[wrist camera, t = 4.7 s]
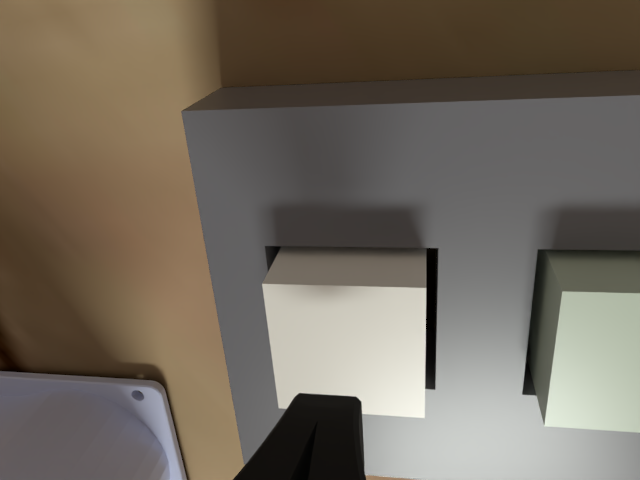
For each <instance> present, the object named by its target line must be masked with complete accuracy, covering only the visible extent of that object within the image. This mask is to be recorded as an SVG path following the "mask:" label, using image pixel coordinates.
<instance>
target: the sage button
mask: <svg viewBox="0 0 640 480" xmlns="http://www.w3.org/2000/svg"><path fill="white" fill-rule="evenodd" d="M526 356H527V360H528V364H529V368H530V372H531V376H532V380H533V384H534V388H535V392H536V396H537V400H538V404H539V407H540V411H541V415H542V419H543V423H544V426H548V427H563V428H578V429H592V430H607V431H622V432H637V433H640V251H635V250H553V249H538V252H537V261H536V270H535V280H534V289H533V298H532V308H531V317H530V326H529V335H528V345H527V354H526Z"/></svg>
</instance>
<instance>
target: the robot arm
mask: <svg viewBox="0 0 640 480" xmlns="http://www.w3.org/2000/svg"><path fill="white" fill-rule="evenodd" d="M137 390H138V391H140V392H142V393H143V394H142V393H140V392H138V391H137ZM364 466H365V462H364V442H363V423H362V403H361V401H360V400H359V399H358V398H357V397H356V396H340V395H324V394H308V393H299V394H297V395H296V396H295V397H294V399H293V400H292V402H291V403H290V405H289V406H288V408H287V409H286V411H285V412H284V414H283V415H282V417H281V418H280V420H279V421H278V422H277V424H276V425H275V427H274V428H273V429H272V431H271V432H270V433H269V435H268V436H267V438H266V439H265V440H264V442H263V443H262V444H261V445H260V447H259V448H258V449H257V451H256V452H255V453H254V454H253V456H252V457H251V458H250V460H249V461H248V462H247V463H246V465H245V466H244V467H243V468H242V470H241V471H240V472H239V473H238V474H237V476H236V477H235V478H234V479H233V480H366V477H365V471H364ZM0 480H187V478H186V474H185V470H184V466H183V462H182V458H181V453H180V449H179V445H178V441H177V437H176V433H175V429H174V425H173V420H172V416H171V412H170V408H169V404H168V400H167V396H166V392H165V389H164V387H163V386H162V385H161V384H160V383H158V382H156V381H152V380H138V379H122V378H106V377H89V376H73V375H56V374H40V373H23V372H7V371H0Z"/></svg>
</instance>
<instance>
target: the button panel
mask: <svg viewBox="0 0 640 480" xmlns="http://www.w3.org/2000/svg"><path fill="white" fill-rule="evenodd" d="M181 112H182V118H183V123H184V129H185V134H186V140H187V146H188V151H189V157H190V163H191V168H192V174H193V179H194V185H195V191H196V196H197V202H198V208H199V213H200V219H201V224H202V230H203V236H204V241H205V247H206V252H207V258H208V264H209V269H210V275H211V281H212V286H213V292H214V297H215V303H216V309H217V314H218V320H219V325H220V331H221V337H222V342H223V348H224V354H225V359H226V365H227V370H228V376H229V382H230V387H231V393H232V399H233V404H234V410H235V415H236V421H237V427H238V432H239V438H240V443H241V449H242V455H243V460H244V464H246V463H247V462H248V461H249V460H250V458H251V457H252V456H253V454H254V453H255V452H256V451H257V449H258V448H259V447H260V445H261V444H262V443H263V442H264V440H265V439H266V438H267V436H268V435H269V433H270V432H271V431H272V429H273V428H274V427H275V425H276V424H277V422H278V421H279V420H280V418H281V417H282V415H283V414H284V412H285V411H286V409H282V408H279V407H278V399H277V392H276V384H275V377H274V369H273V362H272V354H271V347H270V340H269V332H268V325H267V317H266V310H265V302H264V295H263V287H262V283H263V281H264V279H265V277H266V275H267V273H268V271H269V269H270V268H271V266H272V264H273V262H274V260H275V258H276V256H277V254H278V252H279V250H280V248H281V246H310V247H391V248H436V267H435V317H434V330H426V358H425V418H415V417H400V416H385V415H371V414H362V423H363V442H364V462H365V466H364V471H365V475H372V476H384V477H395V478H407V479H418V480H640V433H637V432H622V431H607V430H592V429H578V428H563V427H548V426H544V423H543V419H542V415H541V411H540V407H539V404H538V400H537V396H536V392H535V388H534V384H533V380H532V376H531V372H530V368H529V364H528V360H527V356H526V354H527V345H528V335H529V326H530V317H531V308H532V298H533V289H534V280H535V270H536V261H537V252H538V249H553V250H635V251H640V70H627V71H604V72H580V73H557V74H533V75H510V76H486V77H463V78H439V79H416V80H392V81H369V82H345V83H322V84H298V85H275V86H251V87H228V88H220V89H218V90H216V91H215V92H213V93H211V94H210V95H208V96H206V97H205V98H203V99H201V100H199V101H198V102H196V103H194V104H193V105H191V106H189V107H188V108H186V109H184V110H182V111H181Z"/></svg>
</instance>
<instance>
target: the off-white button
mask: <svg viewBox="0 0 640 480" xmlns="http://www.w3.org/2000/svg"><path fill="white" fill-rule="evenodd" d="M262 287H263V295H264V302H265V310H266V317H267V325H268V332H269V340H270V347H271V354H272V362H273V369H274V377H275V384H276V392H277V399H278V407H279V408H282V409H287V408H288V406H289V405H290V403H291V402H292V400H293V399H294V397H295V396H296V395H297V394H299V393H308V394H324V395H340V396H356V397H357V398H358V399H359V400H360V401H361V403H362V414H371V415H385V416H400V417H415V418H425V358H426V248H391V247H310V246H281V248H280V250H279V252H278V254H277V256H276V258H275V260H274V262H273V264H272V266H271V268H270V269H269V271H268V273H267V275H266V277H265V279H264V281H263V283H262Z"/></svg>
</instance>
